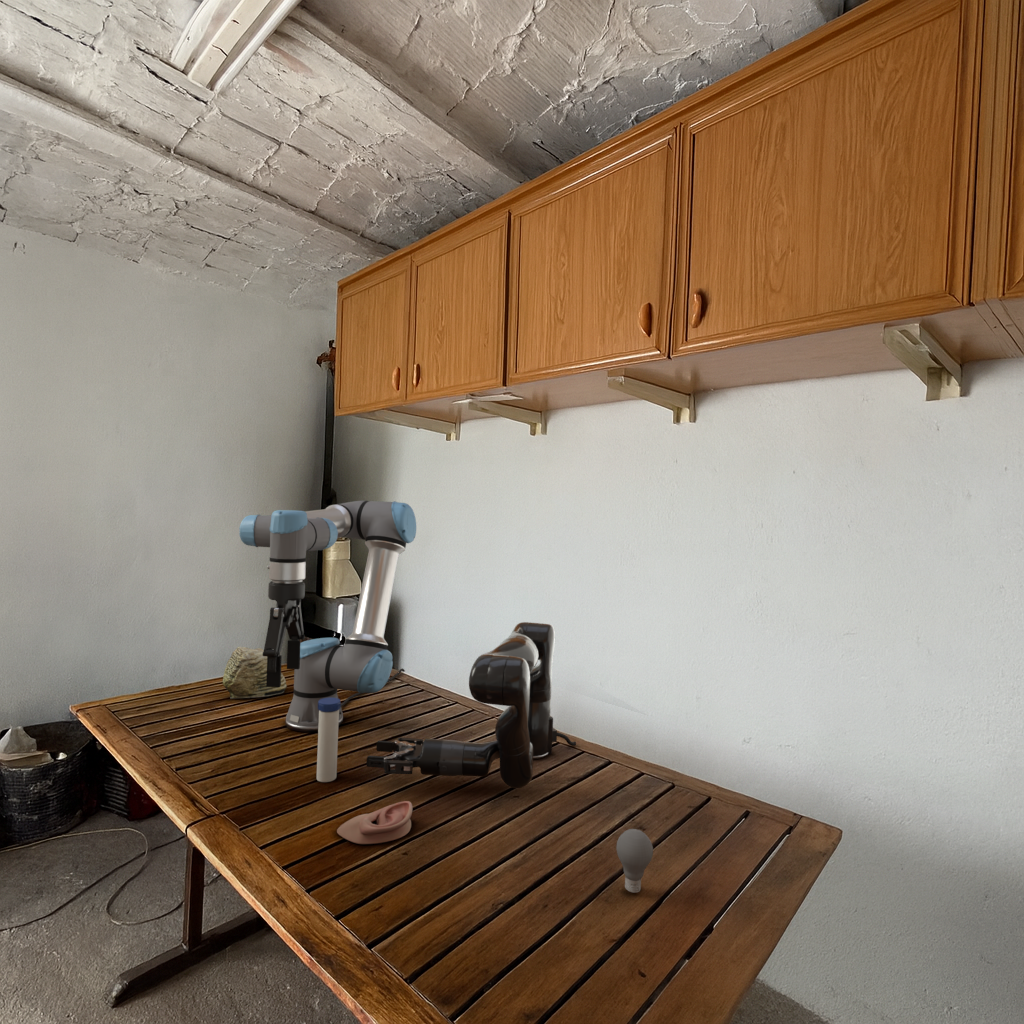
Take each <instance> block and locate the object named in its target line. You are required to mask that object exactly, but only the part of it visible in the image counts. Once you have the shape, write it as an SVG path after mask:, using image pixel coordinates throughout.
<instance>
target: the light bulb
mask: <svg viewBox="0 0 1024 1024" xmlns="http://www.w3.org/2000/svg"><path fill="white" fill-rule="evenodd" d="M615 849H616V854H617V857H618V859H619V861H620V863H621V865H622V867H623V873H624V874H623V875H624V876H625V878H624V888H625V890H627V891H628V892H630V893H634V894H635V893H639V892H640V891H641V889H642V887H641V886H642V879H643V877H644V875H645V871H646V868H647V867H648V866H649V864H650V863H651V861H652V859H653V855H654V847H653V843H652V841H651V838H649V836H648V835H647V834H646V833H645V832H643V831H642V830H641V829H636V828H629V829H627V830H625V831H623V832H622V833H621V834H620V835H619V837H618V839H617V841H616V847H615Z"/></svg>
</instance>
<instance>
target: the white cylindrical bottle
mask: <svg viewBox="0 0 1024 1024" xmlns="http://www.w3.org/2000/svg"><path fill="white" fill-rule="evenodd" d="M338 724H339V710H337V711H333V712H323V711H320V710H319V726H318V732H317V752H316V754H317V756H316V780H317V782H320V783H330V782H333V781H335V780H336V779H337V775H338V773H337V772H338V770H337V769H338V748H339V747H338V746H339V726H338Z"/></svg>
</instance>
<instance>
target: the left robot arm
mask: <svg viewBox="0 0 1024 1024" xmlns="http://www.w3.org/2000/svg"><path fill="white" fill-rule="evenodd" d="M416 535H417V520H416V515H415V512H414V510H413V508H412V507H411V506H410V504H408V503H406V502H400V501H399V502H398V501H396V500H395V501H384V500H383V501H382V500H380V501H379V500H354V501H348V502H342V503H337V504H330V505H328V506H327V507H325V508H324V509H314V510H305V511H304V510H297V509H295V510H294V509H277V510H273V511H272V513H271V514H269V515H268V514H267V515H261V514H250V515H246V516H245V517H243V519H242V520H241V522H240V524H239V537H240V541H241V542H242V543H243V544H244V545H245V546H248V547H249V546H250V547H255V548H269V564H268V565H267V566H266V569H267V570H269V571H268V579H269V580H270V581H269V582H268V589H267V598H268V599H269V600H271V601H275V602H276V604H275V607H270V609H269V620H268V625H267V630H266V637H265V641H264V642H265V643H264V648H263V650H264V652H263V656H267V682H266V687H280V686H281V673H282V660H283V659H282V658H283V655H282V654H281V651H282V647H283V644H284V640H285V636H286V633H287V635H288V638H289V639H288V640H287V647H286V649H287V650H286V657H287V658H286V670H294V672H293V695H292V696H293V697H292V699H291V702H290V704H289V708H288V711H287V713H286V715H285V726H286V728H287V729H289V730H291V731H294V732H295V731H296V732H301V733H316V732H317V733H318V726H319V710H318V701H319V700H320V699H323V698H338V699H339V695H338V690H342V691H350V692H356V693H353V694H351V695H349V696H348V697H346V699H345V700H344V701H343V702H341V707H340V709H339V724H338V727H339V726H340V725H342V723H343V722H344V714H343V709H342V707H344V706H345V705H346V704H347V703H348V702H349V701H350V700H352V699H353V698H356V697H358V696H360V695H363V694H365V693H367V694H374V693H375V694H376V693H378V692H380V691H381V690H382V689H383V688H384V687H385V685H386V684H388V683H389V682H391V681H393V680H394V679H396V678H397V677H398V676H399V675H400V674H401V673H402V672H403V673H404V672H405V671H406V670H405V668H404V667H403V668H402V667H401V668H400V669H399V670H398V672H399V673H398V672H396V673H395V674H394V675H392V676H391V673H392V669H393V665H394V661H393V658H394V657H393V653H392V652H391V651H390V650H388V646H389V644H388V642H387V641H386V639H385V633H386V632H385V631H386V626H387V621H388V615H389V610H390V606H391V600H392V593H393V588H394V583H395V577H396V573H397V567H398V561H399V556H400V554H401V555H402V553H403V552H405V551H406V547H407V544H411V543H412V542H414V540H415V538H416ZM338 538H339V539H340V538H347V539H355V540H362V541H363V540H364V544H365V546H366V547H367V549H368V554H367V559H366V562H365V563H366V564H365V569H364V572H363V578H362V582H361V583H362V584H361V589H360V593H359V598H358V602H357V603H358V604H357V608H356V612H355V619H354V624H353V628H352V633H351V634H350V635H348V636H347V637H345V640H344V645H341V641H340V639H339V638H337V637H320V638H319V637H318V638H313V639H307V640H305V638H306V637H305V636H306V635H305V634H304V633H305V630H304V623H303V615H302V600H303V599H304V598H305V595H306V594H305V593H306V582H305V581H303V580H305V579H306V571H307V570H306V568H307V561H306V560H307V559H306V558H307V552H313V551H323V550H326V549H330V548H331V547H333V546H334V545H335V544H336V542H337V540H338ZM301 640H302V642H301ZM405 673H406V672H405ZM390 676H391V677H390Z"/></svg>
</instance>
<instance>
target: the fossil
mask: <svg viewBox="0 0 1024 1024" xmlns="http://www.w3.org/2000/svg"><path fill="white" fill-rule="evenodd" d="M263 652H264V648H260V647H258V648H251V647H247V646H246V647H245V646H238V647H237V648H236V649H235V650H233V651H232V653H231V656H230V657H229V659H228V660H227V663H226V666H225V668H224V671H223V675H222V676H223V677H222V685H223V687H224V688H225V690H226V691H228V693H229V698H230V699H250V698H264V697H271V696H275V695H281V694H284V693H285V691H286V689H287V687H288V686H287V680H286V678H285V676H284V674H283V673H282V672H281V686H280V687H266V682H267V656H263Z"/></svg>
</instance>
